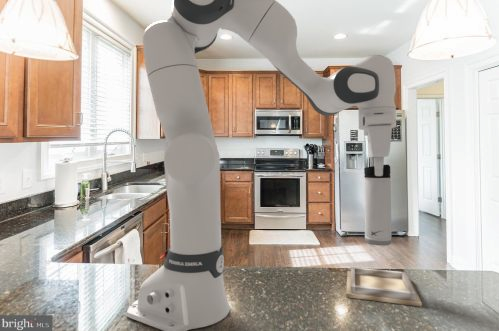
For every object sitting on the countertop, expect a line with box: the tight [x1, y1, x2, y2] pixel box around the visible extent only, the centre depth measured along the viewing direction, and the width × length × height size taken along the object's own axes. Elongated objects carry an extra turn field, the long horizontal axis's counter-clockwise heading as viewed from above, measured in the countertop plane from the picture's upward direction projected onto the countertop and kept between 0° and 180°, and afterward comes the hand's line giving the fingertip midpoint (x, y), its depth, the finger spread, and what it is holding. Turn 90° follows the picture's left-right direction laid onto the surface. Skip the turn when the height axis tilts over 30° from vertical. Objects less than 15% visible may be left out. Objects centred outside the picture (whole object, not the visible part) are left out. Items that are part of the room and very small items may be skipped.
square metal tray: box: [345, 266, 423, 308], centre depth 76 cm, size 16×16×2 cm
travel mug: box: [363, 164, 392, 247], centre depth 76 cm, size 6×7×20 cm
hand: (377, 175), depth 76 cm, fingers closed on travel mug, 6 cm apart
